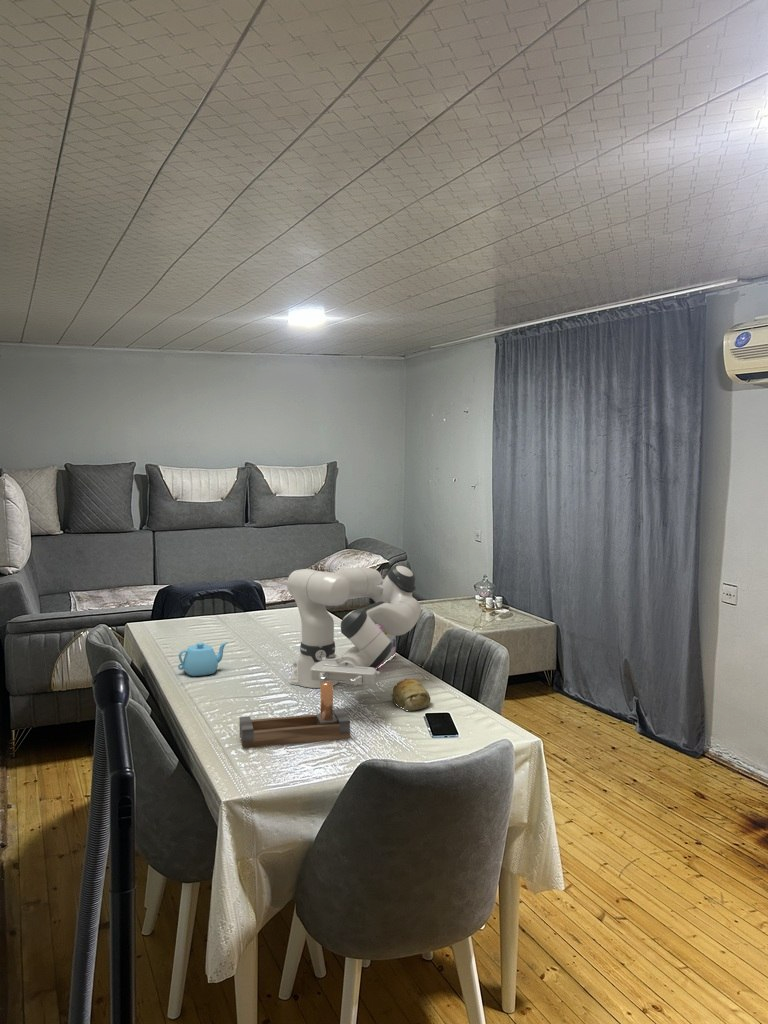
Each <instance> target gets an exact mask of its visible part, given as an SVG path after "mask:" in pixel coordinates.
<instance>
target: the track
mask: <svg viewBox="0 0 768 1024" xmlns="http://www.w3.org/2000/svg"><path fill="white" fill-rule="evenodd" d="M333 714H334V715H335V717H336V719H337V724H326V725H316V714H307V715H306V714H304V715H293V716H279V717H270V718H269V717H268V718H259V719H258V718H257V719H256V718H255V719H252V718H251V716H241V717H239V738H241V739H240V743H241V747H247V748H253V747H252V746H258V747H263V746H262V745H269V746H278V745H279V744H280V745H287V744H289V745H290V744H301V743H310V742H321V741H333V740H335V741H336V740H346V739H351V720H350V719H349V717H348V715H347V713H346V711H345V710H344V709H343V708H339V709H333Z"/></svg>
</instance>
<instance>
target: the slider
mask: <svg viewBox="0 0 768 1024" xmlns="http://www.w3.org/2000/svg"><path fill="white" fill-rule="evenodd" d="M333 708H334V685H333V682H330V681H324V682H321V688H320V713H317V714H315V715H316V725H326V724H337V719H336V717H335V715H334V714H333V710H334V709H333Z"/></svg>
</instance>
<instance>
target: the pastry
mask: <svg viewBox="0 0 768 1024" xmlns="http://www.w3.org/2000/svg"><path fill="white" fill-rule="evenodd" d="M431 699H432V698H431V696H430V694H429V691H428V690H427V689H426V688H425V687H424V686H423V684H422V683H421V682H419V681H417V679H413V678H412V679H411V678H405V679H402V680H401V681H399V682H397V684H396V685H395V686H394V687H393V688H392V693H391V700H392V702H393V703H394V704H395V703H396V704H397V705H398V706H399V707H398V706H397V707H398V708H400V707H402V708H404V709H403V711H404V710H408V711H407V712H413V711H419V710H421V709H426V708H428V707H429V704H430V702H431ZM427 706H428V707H427ZM402 708H401V709H402Z"/></svg>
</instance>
